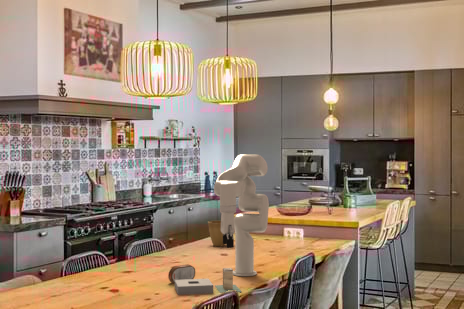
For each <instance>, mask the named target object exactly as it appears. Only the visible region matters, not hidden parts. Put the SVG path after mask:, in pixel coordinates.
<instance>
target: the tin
mask: <svg viewBox="0 0 464 309" xmlns="http://www.w3.org/2000/svg"><path fill="white" fill-rule="evenodd" d="M195 277H196V268H195V267H194V266H193V265H190V264H189V263H188V264H181V265H175V266H173V267H171V268H170V270H169V271H168V276H167V278H168V280H169V282H170V283H172V284H175V280H184V279H195Z"/></svg>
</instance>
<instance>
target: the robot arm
mask: <svg viewBox="0 0 464 309" xmlns="http://www.w3.org/2000/svg"><path fill="white" fill-rule="evenodd" d="M268 167H269V166H268V163H267V161H266V160H265V158H264V157H263V156H262V155H260V154H251V153H250V154H249V153H248V154H245V153H244V154H238V155H237V156H236V158H235V159H234V161H233V163H232V166H231V167H230V168H229V169H227V170H225V171H223V172H222V173H220V174H219V175H218V176H217V177H216V181H215V182H214V186H213V192H214V195H215V196H217V197H219V212H220V214H221V216H220V221H221V232H222V233H223V235H224V236H223V244H225V245H226V248H227V249H233V248H234V247H235V249H234V250H235V257H234V258H235V259H234V260H235V261H234V262H235V263H234V265H235V268H234V269H235V270H233V276H237V277H253V276H256V275H257V273H258V272H257V271H256V270H254V269H255V268H254V265H255V264H254V263H255V262H254V261H255V258H254V257H255V256H254V254H255V250H254V249H255V247H254V246H255V242H254V238H253V236H252V234H250V233H265V232H266V231H267V229H268V220H269V208H270V205H269V202H270V201H269V197H268V196H267V195H266V194H265V193H256V192H257V189H256V187H257V186H256V183H255V182H254V180H253V179H252V178H251V177H265V175H267V173H268ZM237 198H238V203H237ZM237 204H238V209H239V211H241V212H242V213H238V214H236V215H235V213H237ZM243 212H246V213H243ZM247 212H249V213H247ZM234 236H235V238H234ZM234 239H235V243H234Z"/></svg>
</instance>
